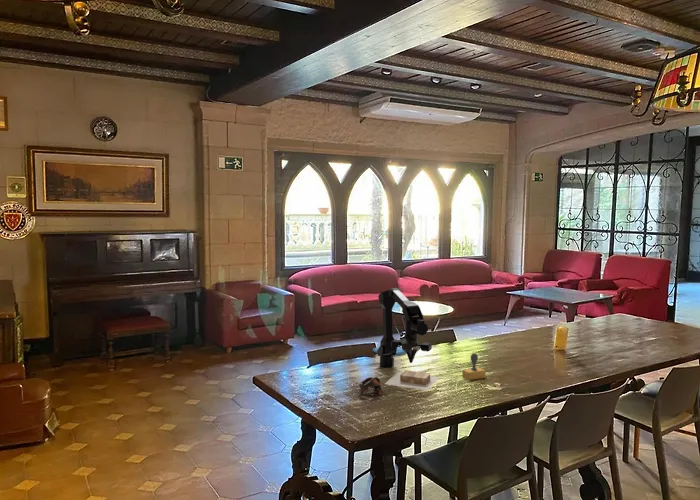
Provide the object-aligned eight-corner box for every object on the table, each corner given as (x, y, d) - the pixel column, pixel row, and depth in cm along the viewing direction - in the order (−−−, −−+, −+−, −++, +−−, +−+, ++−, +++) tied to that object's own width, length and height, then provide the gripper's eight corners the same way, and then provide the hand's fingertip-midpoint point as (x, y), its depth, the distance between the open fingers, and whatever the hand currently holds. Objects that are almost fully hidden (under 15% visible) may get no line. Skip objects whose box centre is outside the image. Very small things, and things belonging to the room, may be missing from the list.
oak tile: (400, 375, 250) (425, 378, 244) (405, 370, 257) (430, 373, 252) (400, 381, 250) (425, 385, 245) (405, 376, 257) (430, 380, 252)
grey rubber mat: (384, 384, 247) (384, 383, 247) (398, 372, 265) (398, 371, 265) (427, 391, 238) (427, 390, 238) (439, 378, 256) (439, 377, 256)
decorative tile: (384, 358, 293) (384, 354, 292) (372, 352, 305) (372, 348, 305) (406, 355, 299) (406, 351, 299) (394, 349, 311) (394, 345, 311)
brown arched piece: (380, 399, 229) (370, 384, 229) (363, 405, 234) (353, 390, 233) (388, 384, 240) (379, 369, 239) (372, 390, 244) (363, 375, 244)
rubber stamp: (468, 380, 254) (469, 355, 253) (461, 376, 259) (462, 352, 258) (485, 377, 258) (486, 353, 257) (478, 374, 263) (479, 350, 262)
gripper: (387, 332, 246) (386, 365, 248) (425, 336, 239) (425, 370, 240) (395, 327, 256) (394, 358, 258) (432, 331, 249) (431, 363, 250)
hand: (411, 362), depth 251 cm, fingers closed
